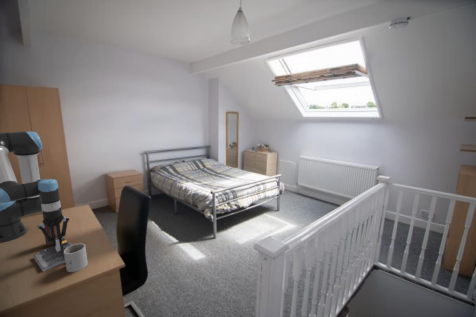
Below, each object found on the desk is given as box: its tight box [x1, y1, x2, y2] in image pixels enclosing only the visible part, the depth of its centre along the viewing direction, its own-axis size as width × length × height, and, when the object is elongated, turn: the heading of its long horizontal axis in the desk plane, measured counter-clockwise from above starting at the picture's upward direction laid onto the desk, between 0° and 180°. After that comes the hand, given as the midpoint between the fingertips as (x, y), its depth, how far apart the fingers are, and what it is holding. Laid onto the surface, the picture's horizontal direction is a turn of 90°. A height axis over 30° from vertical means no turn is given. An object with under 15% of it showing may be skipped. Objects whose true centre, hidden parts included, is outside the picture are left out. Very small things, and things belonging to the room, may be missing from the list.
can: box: [44, 225, 58, 248], centre depth 127 cm, size 6×6×14 cm
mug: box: [64, 243, 89, 273], centre depth 110 cm, size 12×9×10 cm
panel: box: [32, 241, 73, 273], centre depth 117 cm, size 17×16×2 cm
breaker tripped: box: [60, 239, 69, 253], centre depth 119 cm, size 3×3×5 cm
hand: (58, 250), depth 117 cm, fingers closed
